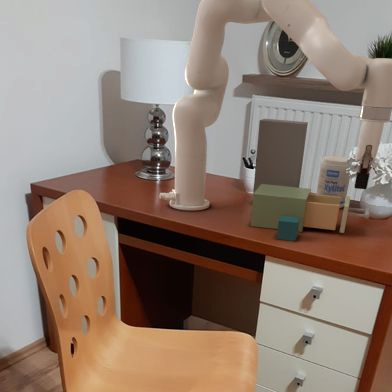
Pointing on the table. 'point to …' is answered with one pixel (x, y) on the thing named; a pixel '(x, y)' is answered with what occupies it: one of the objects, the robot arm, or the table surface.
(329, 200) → the drawer
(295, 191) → the cabinet
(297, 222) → the block
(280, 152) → the tall taupe upright panel
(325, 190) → the supplement tub
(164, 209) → the table surface
